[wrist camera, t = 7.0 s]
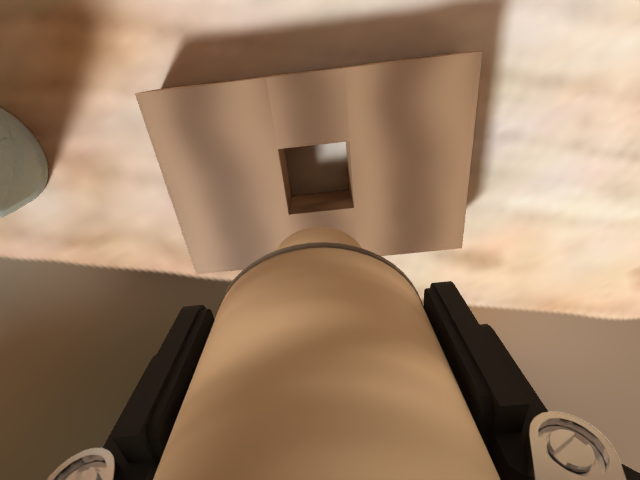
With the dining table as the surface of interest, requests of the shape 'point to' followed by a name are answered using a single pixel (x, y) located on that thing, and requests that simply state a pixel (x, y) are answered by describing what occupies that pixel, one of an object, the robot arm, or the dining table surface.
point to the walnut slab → (313, 129)
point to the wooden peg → (323, 377)
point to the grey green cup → (19, 165)
